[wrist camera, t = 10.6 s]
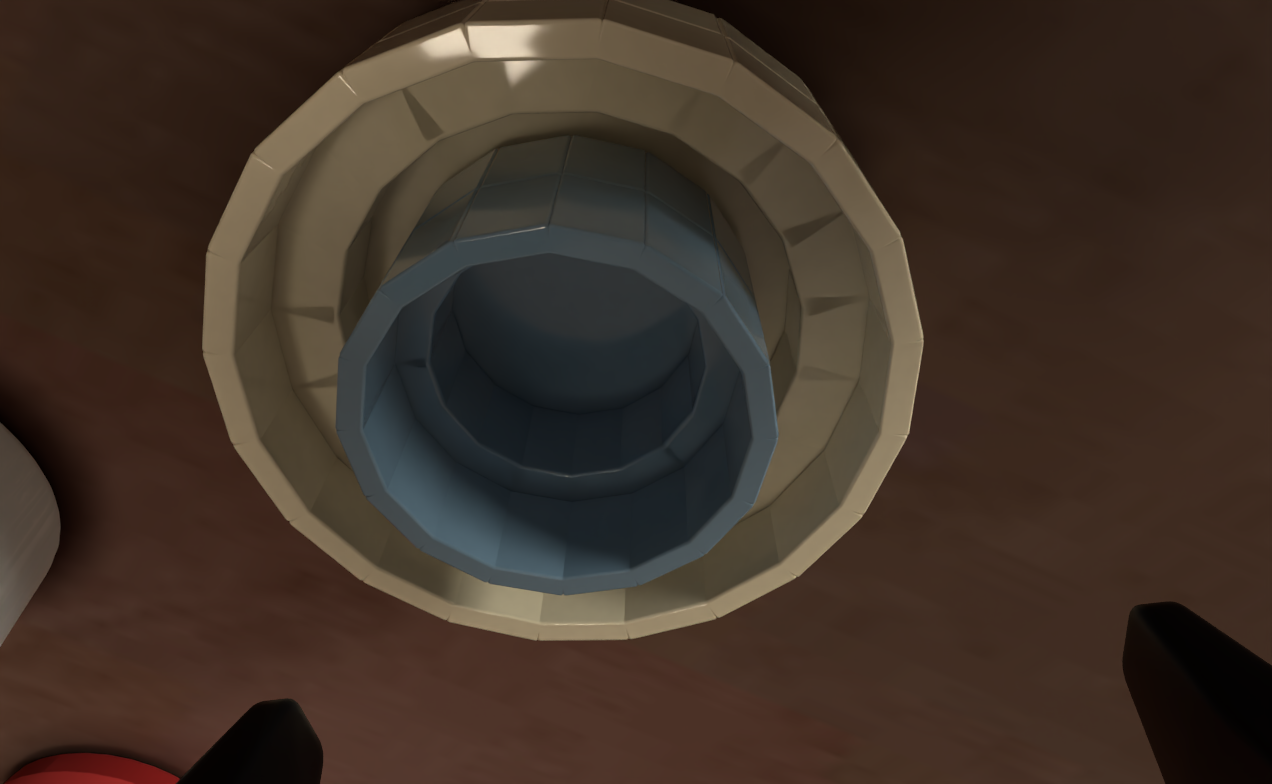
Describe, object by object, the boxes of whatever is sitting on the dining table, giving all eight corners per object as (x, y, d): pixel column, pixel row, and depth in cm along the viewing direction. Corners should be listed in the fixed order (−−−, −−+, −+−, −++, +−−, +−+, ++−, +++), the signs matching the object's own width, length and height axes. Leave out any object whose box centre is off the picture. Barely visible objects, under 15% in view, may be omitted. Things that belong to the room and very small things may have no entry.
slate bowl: (518, 51, 16) (470, 130, 12) (818, 260, 18) (869, 389, 14) (350, 335, 19) (266, 477, 15) (623, 486, 21) (616, 647, 17)
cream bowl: (465, -182, 15) (405, -187, 11) (994, 223, 18) (1078, 317, 15) (202, 352, 20) (105, 464, 17) (649, 584, 24) (649, 716, 20)
